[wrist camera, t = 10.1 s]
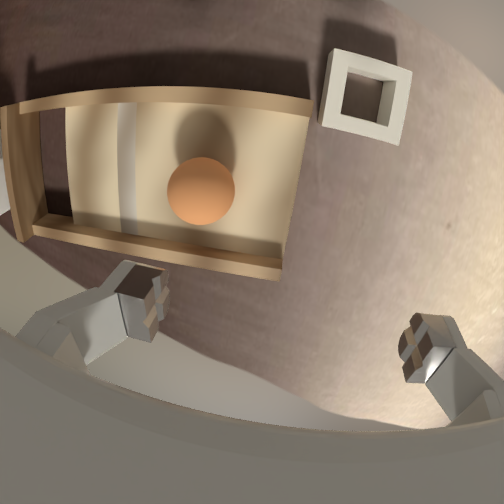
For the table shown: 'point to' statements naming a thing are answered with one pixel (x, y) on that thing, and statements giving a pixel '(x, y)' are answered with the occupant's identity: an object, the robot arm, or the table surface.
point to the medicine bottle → (3, 185)
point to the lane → (162, 172)
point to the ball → (201, 191)
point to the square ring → (390, 102)
